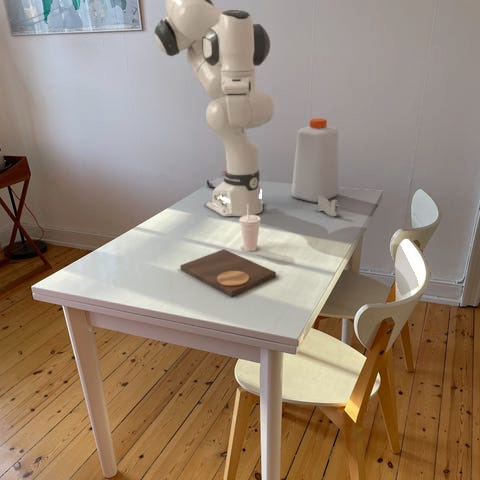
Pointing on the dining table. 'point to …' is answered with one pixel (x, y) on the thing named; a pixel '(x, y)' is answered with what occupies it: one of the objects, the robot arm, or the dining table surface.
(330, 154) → the plastic bottle
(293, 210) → the dining table surface
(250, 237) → the smoothie
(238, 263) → the serving board
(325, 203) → the duck shaped cutout
